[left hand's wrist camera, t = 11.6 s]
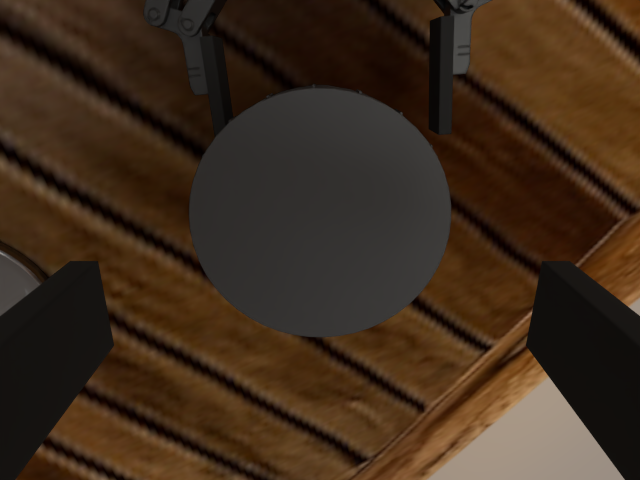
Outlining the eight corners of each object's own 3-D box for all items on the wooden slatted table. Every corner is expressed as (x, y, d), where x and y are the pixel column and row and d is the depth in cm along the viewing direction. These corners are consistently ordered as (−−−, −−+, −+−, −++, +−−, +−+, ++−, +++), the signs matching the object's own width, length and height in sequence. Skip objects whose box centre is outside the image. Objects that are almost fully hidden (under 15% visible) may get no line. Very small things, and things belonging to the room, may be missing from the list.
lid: (287, 25, 18) (283, 21, 16) (491, 183, 21) (509, 195, 19) (156, 236, 22) (140, 253, 20) (345, 351, 24) (348, 376, 22)
